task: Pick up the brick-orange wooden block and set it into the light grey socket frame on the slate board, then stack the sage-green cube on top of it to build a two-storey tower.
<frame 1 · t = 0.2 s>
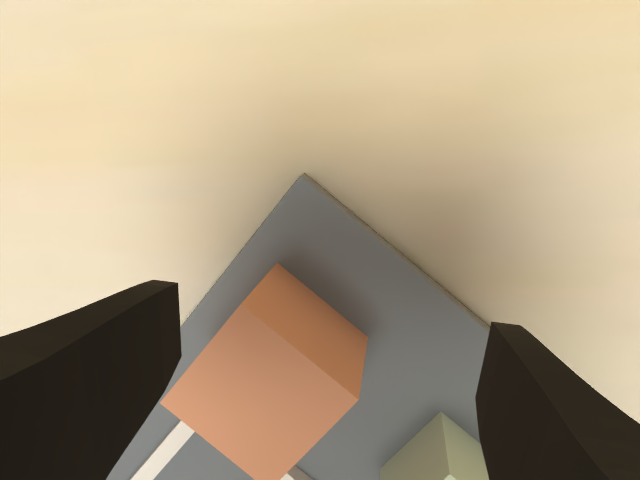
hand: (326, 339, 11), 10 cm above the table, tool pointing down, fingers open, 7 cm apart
block a: (287, 340, 22), point 1 cm above the table, touching board
block b: (444, 468, 22), point 1 cm above the table, touching board
board: (293, 453, 24), on the table
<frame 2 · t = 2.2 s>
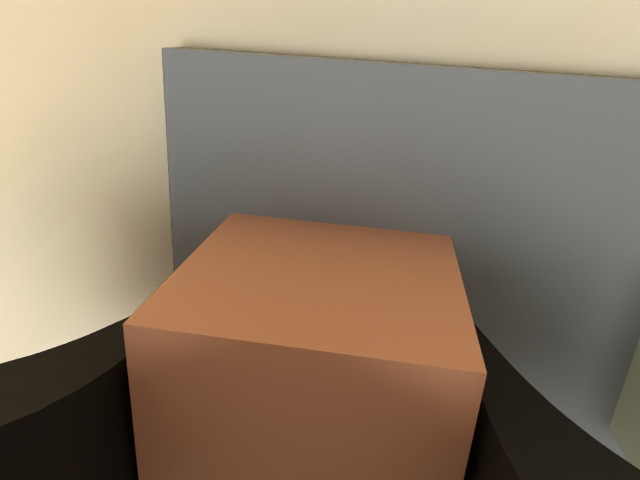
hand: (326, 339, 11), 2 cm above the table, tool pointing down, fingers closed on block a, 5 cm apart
block a: (331, 319, 12), point 1 cm above the table, touching board, gripper
board: (459, 467, 15), on the table
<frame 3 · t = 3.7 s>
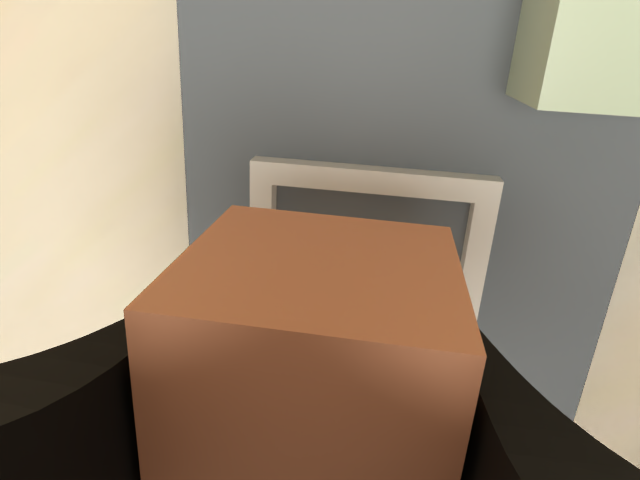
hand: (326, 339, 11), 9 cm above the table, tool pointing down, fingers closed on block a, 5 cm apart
block a: (331, 311, 12), point 8 cm above the table, touching gripper
block b: (585, 30, 15), point 1 cm above the table, touching board
board: (401, 169, 19), on the table
when the fingers open (3 cm above the table, at t = 5.4 s): block a drops 1 cm, resting on board.
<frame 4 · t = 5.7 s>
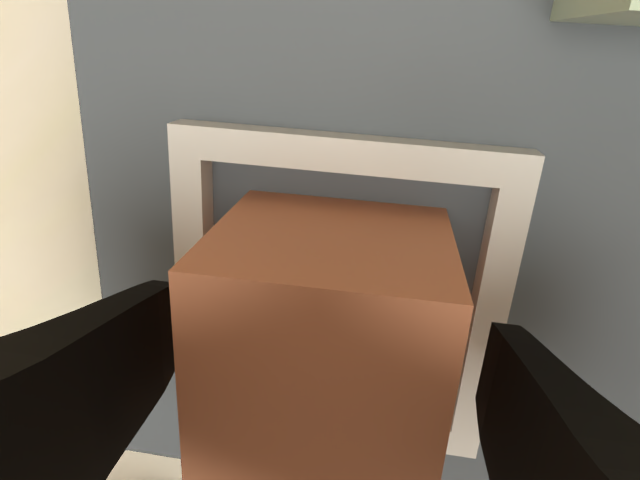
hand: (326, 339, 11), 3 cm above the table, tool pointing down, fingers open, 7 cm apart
block a: (339, 286, 14), point 1 cm above the table, touching board
board: (391, 141, 13), on the table
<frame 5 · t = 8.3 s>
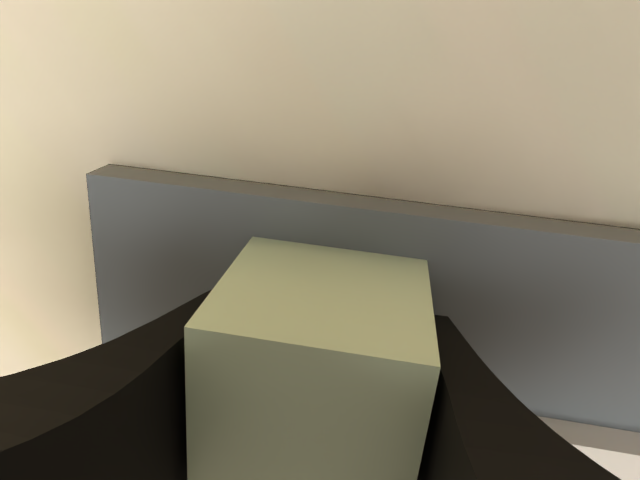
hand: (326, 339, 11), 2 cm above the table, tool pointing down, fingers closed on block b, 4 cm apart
block b: (330, 323, 12), point 1 cm above the table, touching board, gripper
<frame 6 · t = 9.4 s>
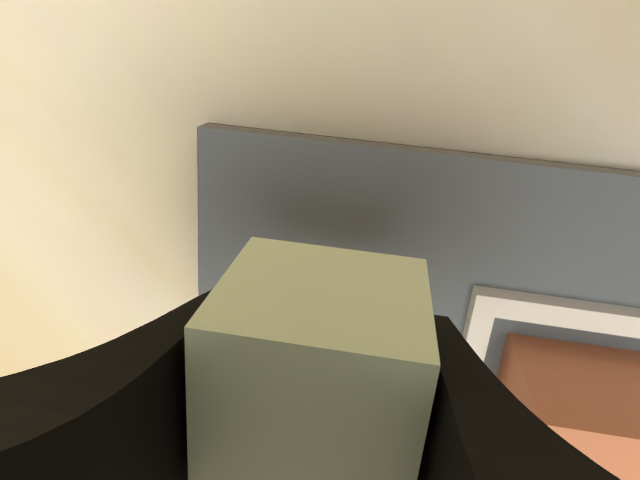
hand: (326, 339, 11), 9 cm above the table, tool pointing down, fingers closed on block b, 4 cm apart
block a: (558, 395, 20), point 1 cm above the table, touching board
block b: (329, 323, 12), point 8 cm above the table, touching gripper
board: (461, 345, 21), on the table
when the fingers open (8 cm above the table, at t = 10.8 s): block b stays where it is, resting on block a.
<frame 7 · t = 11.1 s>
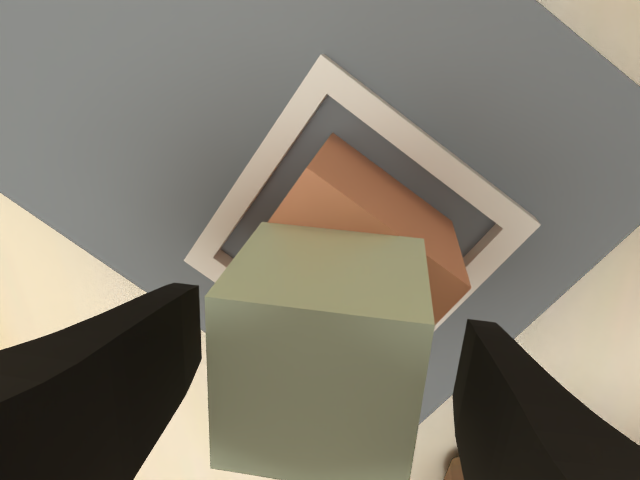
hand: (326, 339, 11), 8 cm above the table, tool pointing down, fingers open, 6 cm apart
block a: (348, 232, 18), point 1 cm above the table, touching block b, board
block b: (335, 301, 13), point 6 cm above the table, touching block a
board: (281, 139, 18), on the table
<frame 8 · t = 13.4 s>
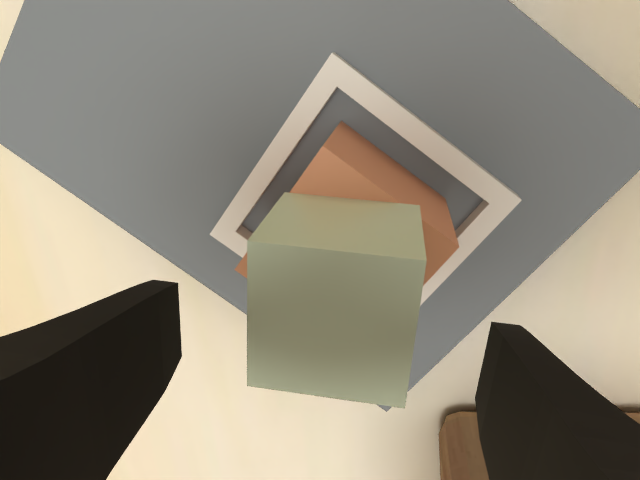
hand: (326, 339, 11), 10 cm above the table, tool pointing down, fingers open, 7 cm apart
block a: (355, 209, 20), point 1 cm above the table, touching block b, board
block b: (346, 260, 16), point 6 cm above the table, touching block a
board: (295, 127, 20), on the table
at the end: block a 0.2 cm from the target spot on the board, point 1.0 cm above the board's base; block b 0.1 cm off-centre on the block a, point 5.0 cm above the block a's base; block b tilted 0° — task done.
